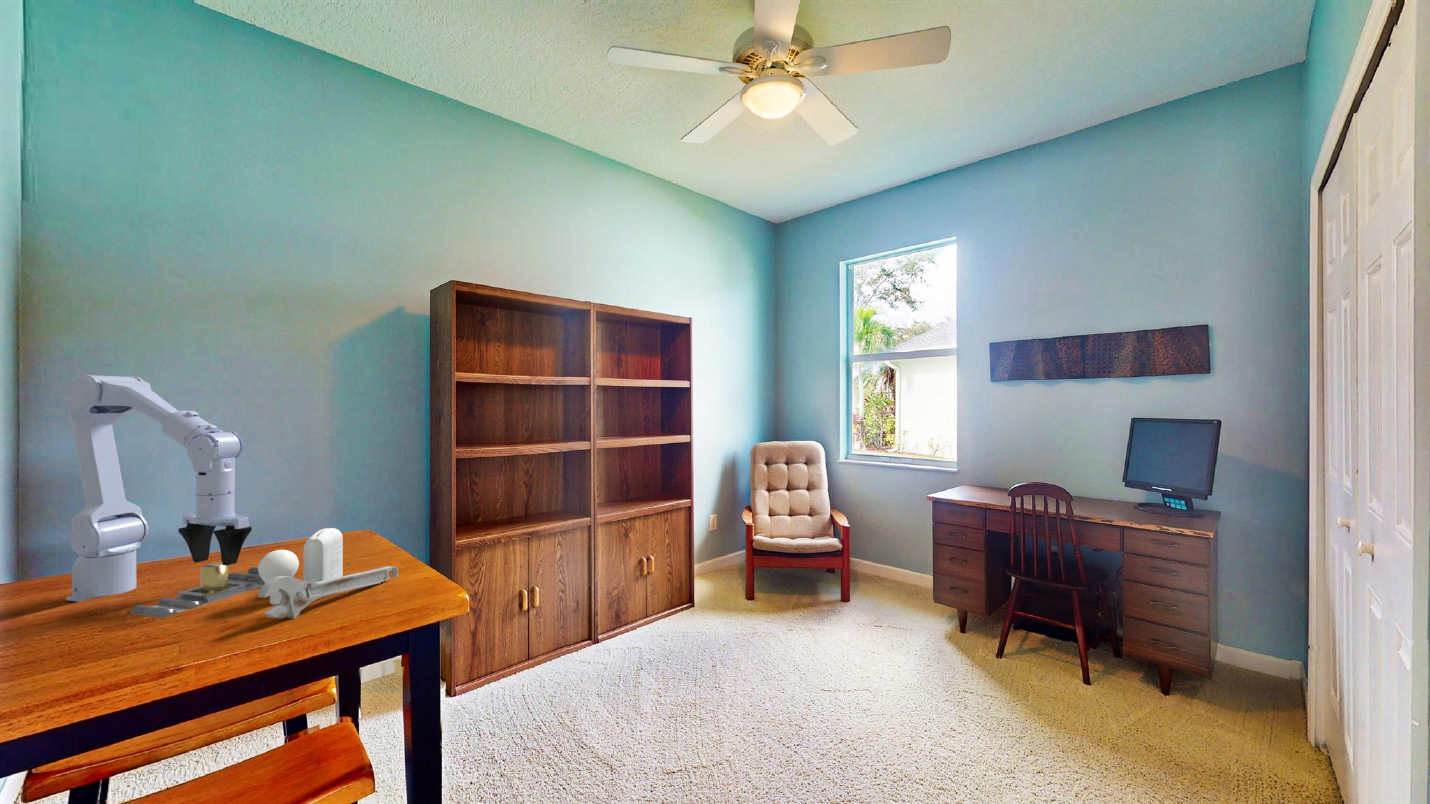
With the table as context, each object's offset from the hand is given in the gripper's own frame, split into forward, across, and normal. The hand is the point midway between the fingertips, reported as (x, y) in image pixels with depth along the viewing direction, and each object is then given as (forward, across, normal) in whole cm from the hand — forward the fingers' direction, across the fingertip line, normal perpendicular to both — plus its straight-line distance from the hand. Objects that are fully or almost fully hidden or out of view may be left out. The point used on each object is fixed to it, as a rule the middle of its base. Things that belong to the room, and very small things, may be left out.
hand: (215, 562), depth 111 cm
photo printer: (+8, +14, +11) cm, 19 cm away
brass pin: (+7, 0, 0) cm, 7 cm away
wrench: (+8, +23, +6) cm, 25 cm away
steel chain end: (+7, 0, -4) cm, 8 cm away
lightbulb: (+8, +16, 0) cm, 18 cm away
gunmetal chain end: (+7, 0, +4) cm, 8 cm away
